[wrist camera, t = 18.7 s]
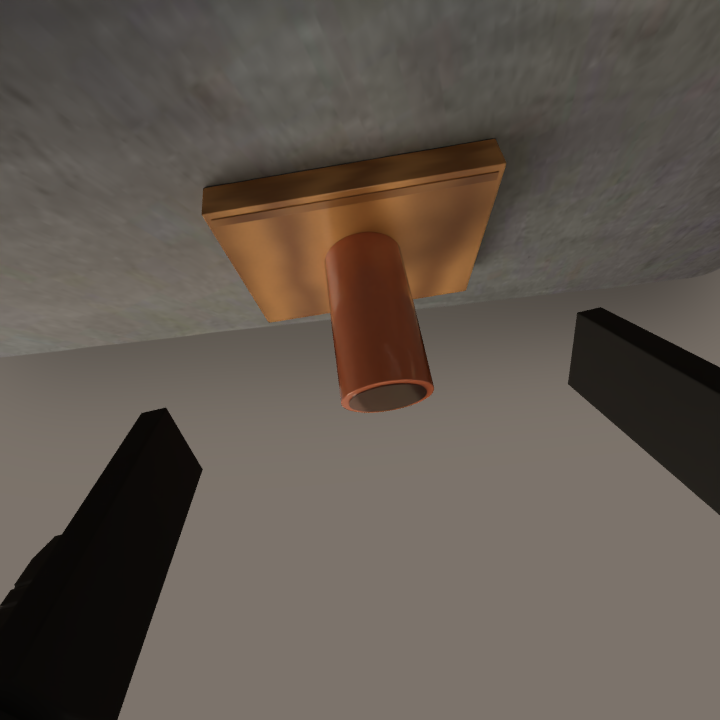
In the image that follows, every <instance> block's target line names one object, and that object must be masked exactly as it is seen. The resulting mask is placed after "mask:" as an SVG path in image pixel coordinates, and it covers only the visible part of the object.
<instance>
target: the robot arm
mask: <svg viewBox="0 0 720 720" xmlns="http://www.w3.org/2000/svg"><path fill="white" fill-rule="evenodd" d="M568 384H569V385H570V386H571V387H572V388H573V389H574V390H576V391H577V392H578V393H579V394H580V395H581V396H582V397H584V398H585V399H586V400H587V401H588V402H589V403H591V404H592V405H593V406H594V407H595V408H596V409H598V410H599V411H600V412H601V413H602V414H603V415H604V416H606V417H607V418H608V419H609V420H610V421H611V422H613V423H614V424H615V425H616V426H617V427H618V428H620V429H621V430H622V431H623V432H624V433H626V434H627V435H628V436H629V437H630V438H631V439H632V440H633V441H635V442H636V443H637V444H638V445H639V446H640V447H642V448H643V449H644V450H645V451H646V452H647V453H648V454H650V455H651V456H652V457H653V458H654V459H655V460H657V461H658V462H659V463H660V464H661V465H663V467H665V468H666V469H667V470H668V471H669V472H671V473H672V474H673V475H674V476H675V477H676V478H677V479H679V480H680V481H681V482H682V483H683V484H684V485H685V486H687V487H688V488H689V489H690V490H691V491H692V492H694V493H695V494H696V495H697V496H698V497H699V498H701V499H702V500H703V501H704V502H705V503H706V504H707V505H709V506H710V507H711V508H712V509H713V510H715V511H716V512H717V513H718V514H719V515H720V367H718V366H716V365H714V364H712V363H710V362H708V361H706V360H704V359H702V358H700V357H698V356H696V355H694V354H692V353H690V352H688V351H686V350H684V349H682V348H680V347H679V346H676V345H675V344H673V343H671V342H669V341H667V340H665V339H663V338H661V337H659V336H657V335H654V334H653V333H651V332H649V331H647V330H645V329H643V328H641V327H639V326H637V325H635V324H633V323H631V322H629V321H627V320H625V319H623V318H621V317H619V316H617V315H615V314H613V313H611V312H609V311H607V310H605V309H603V308H601V307H600V308H596V309H591V310H587V311H583V312H578V313H577V319H576V327H575V334H574V343H573V350H572V357H571V365H570V374H569V380H568ZM202 470H203V469H202V468H201V466H200V464H199V463H198V461H197V459H196V457H195V456H194V454H193V453H192V451H191V449H190V448H189V446H188V444H187V442H186V441H185V439H184V437H183V436H182V434H181V432H180V430H179V429H178V427H177V425H176V424H175V422H174V420H173V419H172V417H171V415H170V413H169V412H168V410H167V409H166V408H162V409H158V410H153V411H149V412H145V413H142V414H141V415H140V416H139V418H138V419H137V421H136V422H135V424H134V425H133V427H132V429H131V430H130V432H129V433H128V435H127V436H126V438H125V439H124V441H123V442H122V444H121V445H120V447H119V448H118V450H117V451H116V453H115V454H114V456H113V458H112V459H111V461H110V462H109V464H108V465H107V467H106V468H105V470H104V471H103V473H102V474H101V476H100V477H99V479H98V480H97V482H96V483H95V485H94V486H93V488H92V489H91V491H90V493H89V494H88V496H87V497H86V499H85V500H84V502H83V503H82V505H81V506H80V508H79V509H78V511H77V513H76V514H75V515H74V517H73V518H72V520H71V521H70V523H69V525H68V526H67V528H66V529H65V531H64V532H63V534H62V535H58V536H55V537H54V538H53V539H52V540H51V541H50V542H49V543H48V544H47V545H46V546H45V547H44V548H43V549H42V550H41V551H40V552H39V553H38V554H37V555H36V556H35V557H34V558H33V559H32V560H31V562H30V563H29V564H28V566H27V567H26V569H25V570H24V572H23V573H22V575H21V576H20V577H19V579H18V580H17V582H16V583H15V588H14V589H12V590H10V592H9V593H8V595H7V596H6V598H5V599H4V601H3V602H2V604H1V605H0V720H117V719H118V716H119V713H120V710H121V707H122V704H123V702H124V698H125V695H126V692H127V690H128V687H129V683H130V681H131V678H132V675H133V672H134V669H135V666H136V663H137V660H138V657H139V655H140V652H141V649H142V646H143V643H144V640H145V637H146V634H147V631H148V628H149V625H150V622H151V619H152V616H153V613H154V610H155V608H156V604H157V602H158V599H159V596H160V593H161V590H162V587H163V584H164V581H165V578H166V575H167V572H168V569H169V566H170V563H171V560H172V558H173V555H174V551H175V549H176V546H177V543H178V540H179V537H180V534H181V531H182V528H183V525H184V522H185V519H186V517H187V514H188V511H189V508H190V504H191V502H192V499H193V496H194V493H195V490H196V487H197V484H198V481H199V478H200V475H201V473H202Z"/></svg>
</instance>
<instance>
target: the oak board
mask: <svg viewBox="0 0 720 720" xmlns="http://www.w3.org/2000/svg"><path fill="white" fill-rule="evenodd" d="M505 167H506V161H505V159H504V156H503V154H502V152H501V150H500V148H499V146H498V143H497V141H496V139H490V140H484V141H479V142H473V143H467V144H461V145H455V146H449V147H443V148H437V149H431V150H426V151H420V152H414V153H408V154H402V155H396V156H390V157H384V158H378V159H373V160H367V161H361V162H355V163H349V164H343V165H337V166H331V167H325V168H320V169H314V170H308V171H302V172H296V173H290V174H284V175H278V176H272V177H267V178H261V179H255V180H249V181H243V182H237V183H231V184H225V185H219V186H214V187H208V188H204V189H203V202H202V216H203V218H204V219H205V221H206V222H207V224H208V226H209V227H210V229H211V230H212V232H213V234H214V235H215V237H216V238H217V240H218V242H219V243H220V245H221V247H222V248H223V250H224V251H225V253H226V255H227V256H228V258H229V259H230V261H231V263H232V264H233V266H234V267H235V269H236V271H237V272H238V274H239V276H240V277H241V279H242V280H243V282H244V284H245V285H246V287H247V288H248V290H249V292H250V293H251V295H252V296H253V298H254V300H255V301H256V303H257V304H258V306H259V308H260V309H261V311H262V313H263V314H264V316H265V317H266V319H267V321H268V322H269V323H270V322H276V321H282V320H288V319H295V318H301V317H307V316H313V315H319V314H325V313H330V307H329V299H328V290H327V282H326V274H325V266H324V261H325V257H326V254H327V252H328V251H329V249H330V248H331V247H332V246H333V245H334V244H335V243H337V242H338V241H339V240H341V239H343V238H345V237H347V236H350V235H353V234H356V233H362V232H377V233H382V234H385V235H387V236H389V237H391V238H392V239H394V240H395V241H396V242H397V243H398V245H399V246H400V248H401V252H402V256H403V260H404V265H405V269H406V273H407V277H408V281H409V285H410V290H411V294H412V298H413V299H417V298H423V297H429V296H436V295H442V294H448V293H454V292H460V291H466V288H467V285H468V282H469V279H470V275H471V272H472V269H473V266H474V263H475V260H476V257H477V254H478V251H479V247H480V244H481V241H482V238H483V235H484V232H485V229H486V226H487V223H488V220H489V216H490V213H491V210H492V207H493V204H494V201H495V198H496V195H497V192H498V188H499V185H500V182H501V179H502V176H503V173H504V170H505Z"/></svg>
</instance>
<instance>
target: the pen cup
mask: <svg viewBox="0 0 720 720" xmlns="http://www.w3.org/2000/svg"><path fill="white" fill-rule="evenodd" d="M324 266H325V274H326V282H327V290H328V299H329V307H330V315H331V323H332V331H333V340H334V348H335V355H336V364H337V373H338V381H339V389H340V397H341V404H342V406H343V407H344V408H345V409H347V410H350V411H355V412H364V413H365V412H366V413H367V412H368V413H370V412H384V411H390V410H396V409H400V408H404V407H407V406H410V405H413V404H416V403H418V402H420V401H422V400H424V399H426V398H427V397H429V396H430V395H431V394H432V393H433V391H434V385H433V381H432V377H431V373H430V369H429V365H428V361H427V356H426V352H425V348H424V344H423V340H422V336H421V331H420V327H419V323H418V319H417V315H416V310H415V306H414V302H413V298H412V294H411V290H410V285H409V281H408V277H407V273H406V269H405V265H404V260H403V256H402V252H401V248H400V246H399V245H398V243H397V242H396V241H395V240H394V239H392V238H391V237H389V236H387V235H385V234H382V233H377V232H362V233H356V234H353V235H350V236H347V237H345V238H343V239H341V240H339V241H338V242H337V243H335V244H334V245H333V246H332V247H331V248H330V249H329V251H328V252H327V254H326V257H325V261H324Z"/></svg>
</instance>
